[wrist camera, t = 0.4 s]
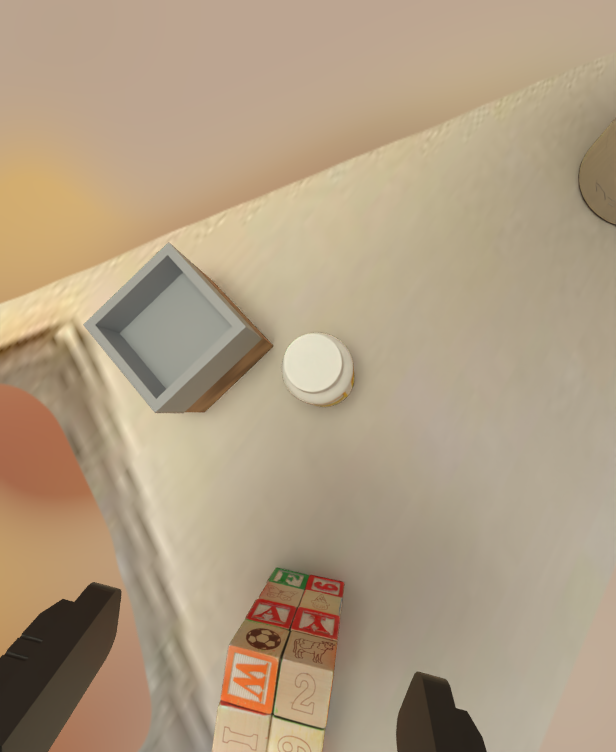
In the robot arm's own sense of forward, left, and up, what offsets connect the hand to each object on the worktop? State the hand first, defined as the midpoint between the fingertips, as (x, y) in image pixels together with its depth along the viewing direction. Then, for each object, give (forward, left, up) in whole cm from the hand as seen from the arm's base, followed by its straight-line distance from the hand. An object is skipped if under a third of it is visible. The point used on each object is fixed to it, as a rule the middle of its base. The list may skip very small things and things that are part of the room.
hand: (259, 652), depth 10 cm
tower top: (0, -17, -20) cm, 27 cm away
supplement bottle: (-6, -7, -25) cm, 26 cm away
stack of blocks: (+15, +11, -25) cm, 31 cm away
